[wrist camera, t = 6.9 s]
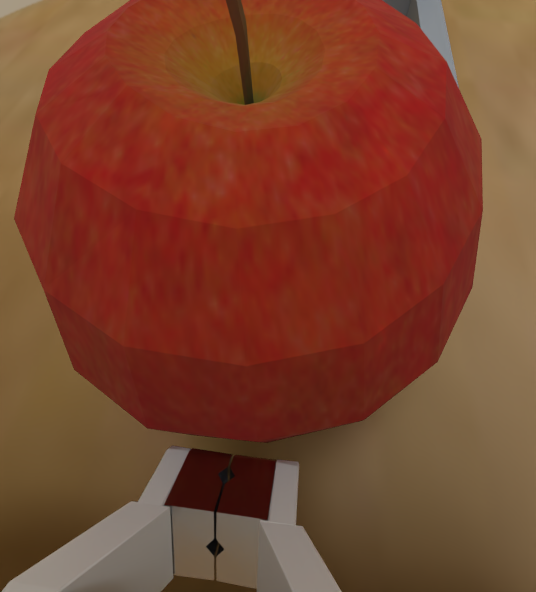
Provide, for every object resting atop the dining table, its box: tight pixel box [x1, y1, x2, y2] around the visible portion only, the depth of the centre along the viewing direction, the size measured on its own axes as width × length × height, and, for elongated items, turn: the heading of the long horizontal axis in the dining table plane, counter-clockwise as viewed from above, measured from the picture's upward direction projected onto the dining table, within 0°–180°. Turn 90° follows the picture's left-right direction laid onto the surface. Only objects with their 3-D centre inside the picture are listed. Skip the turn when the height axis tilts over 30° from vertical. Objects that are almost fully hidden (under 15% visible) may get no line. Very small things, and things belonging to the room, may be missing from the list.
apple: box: [14, 0, 483, 443], centre depth 10 cm, size 10×10×14 cm
